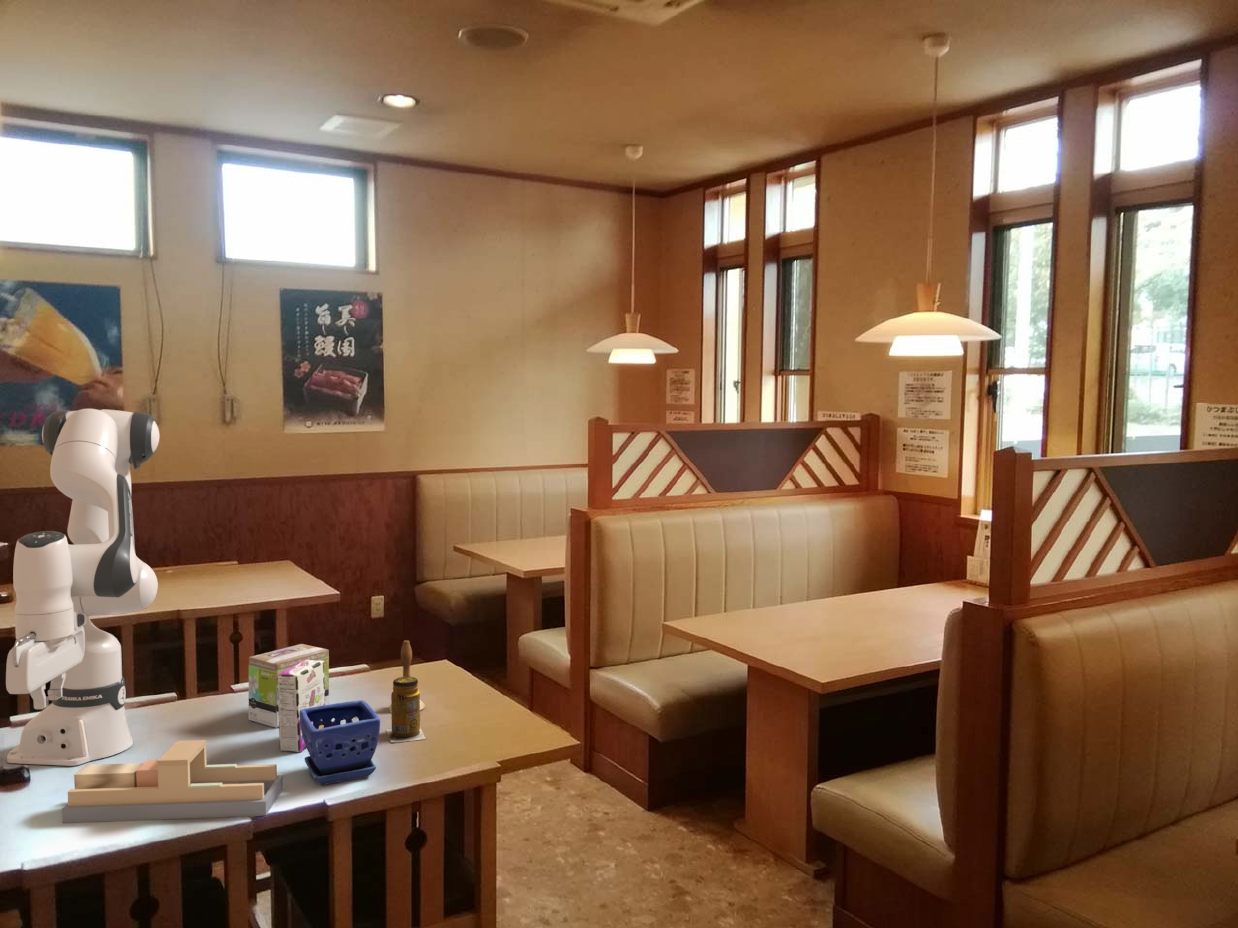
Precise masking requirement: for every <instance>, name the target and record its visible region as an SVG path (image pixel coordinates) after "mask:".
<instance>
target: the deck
mask: <svg viewBox="0 0 1238 928" xmlns="http://www.w3.org/2000/svg"><path fill="white" fill-rule="evenodd" d="M277 765H278V764H277V763H276V764H273V763H272V764H250V765H249V764H246V765H244V764H243V765H242V764H241V765H238V764H237V763H226V764H222V763H221V764H219V763H218V764H207V740H206V739H199V740H197V739H195V740H177V741H176V742H175V743H173V745H172V746H171V747H170V748H169V749H168V750H167V751H166V752H165V753H164V754H162V756H160V758H159V760H158V787H129V788H100V789H75V788H74V789H73V788H72V789H69V790H68V791H67V804H66V805H65V806H63V808H62V813H61V815H62V823H63V824H69V823H70V824H71V823H95V822H98V823H99V822H101V823H102V822H123V821H125V822H126V821H146V820H147V821H149V820H151V821H152V820H174V819H176V820H180V819H204V818H205V819H206V818H227V817H229V818H231V817H236V818H237V817H256V816H257V817H261V816H267V815H268V813H269V811H270V810H271V808H272V807H273V805H274V803H275V802H276V800H277V799H278V798H279V795H280V793H282V791H283V789H284V775H283V774H281V775H280V774H279V775H278V771H277V770H278V768H277Z"/></svg>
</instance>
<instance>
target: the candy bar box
mask: <svg viewBox="0 0 1238 928" xmlns="http://www.w3.org/2000/svg"><path fill="white" fill-rule="evenodd" d="M277 688H278V689H277V690H278V712H279V727H278V734H279V735H278V737H279V738H278V739H279V751H280V752H287V753H288V752H289V753H302V752H303V751H304V750H306V749H307V748H306V745H305V742H304V739H303V735H302V731H301V726H300V710H301V709H306V708H312V707H318V706H324V705H325V684H324V661H320V660H303V661H301V662H299V663H298V664H296V665H294V666H292V667H290V668H288V669H286V670H285V671H283V672H281V673H279V674H277ZM321 721H322V720H321ZM311 723H312V724H313V721H311ZM321 728H324V725H320V726H319V729H321Z"/></svg>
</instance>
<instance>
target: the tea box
mask: <svg viewBox="0 0 1238 928" xmlns="http://www.w3.org/2000/svg"><path fill="white" fill-rule="evenodd" d="M329 651H330V650H329V649H327V648H323V647H317V646H312V645H308V644H306V643H305V644H304V643H299V644H296V645H292V646H287V647H283V648H280V649H275V650H272V651H269V652H264V653H261V654H256V655H252V656H249V657H248V720H249V721H252V722H255V723H257V724H261V725H264V726H268V727H271V728H276V729H277V728H279V712H278V690H277V689H278V688H277V674H279V673H281V672H283V671H285V670H286V669H288V668H290V667H292V666H294V665H296V664H298V663H299V662H301V661H303V660H320V661H324V684H325V705H330V704H329V703H330V700H329V699H330V696H329V695H330V686H329V685H330V678H329V675H330V669H329V668H330V665H329V664H330V663H329V662H330V656H329V654H330V652H329Z"/></svg>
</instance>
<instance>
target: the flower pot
mask: <svg viewBox="0 0 1238 928" xmlns="http://www.w3.org/2000/svg"><path fill="white" fill-rule="evenodd" d="M354 718H357V719H358V721H353V719H354ZM333 719H334V720H333ZM321 720H322V721H321ZM332 720H333V721H332ZM311 721H313V724H312V723H311ZM342 721H345V723H344V724H343V723H342V724H341V722H342ZM320 725H324V728H321V729H319V726H320ZM300 726H301V731H302V735H303V739H304V742H305V745H306V749H307V752H308V754H309V755H308V756H305V757H304V763H305V764H306V766H307V769H308V770H309V772H310V773H311V775H312V777H313V778H314V780H315V781H316V783H318V785H329V784H334V783H341V782H344V781H345V782H347V781H350V780H351V781H352V780H356V779H362V778H366V777H369V776H371V774H373V773H374V772H375V771H376V768H377V767H376V764H375V763H374V761H373V760H372V759H373V757H374V756H375V755H374V754H375V752H376V750H377V746H378V742H379V737H380V732H381V731H380V729H381V719H380V717H379V715H378V714H377V713H376V711H375V710H374V709H373V707H372V706H370V704H369V703H368V702H367V701H365V700H363V699H361V700H360V699H359V700H352V701H351V700H350V701H343V702H337V703H331V704H329V705H324V706H318V707H312V708H306V709H301V710H300Z"/></svg>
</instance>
